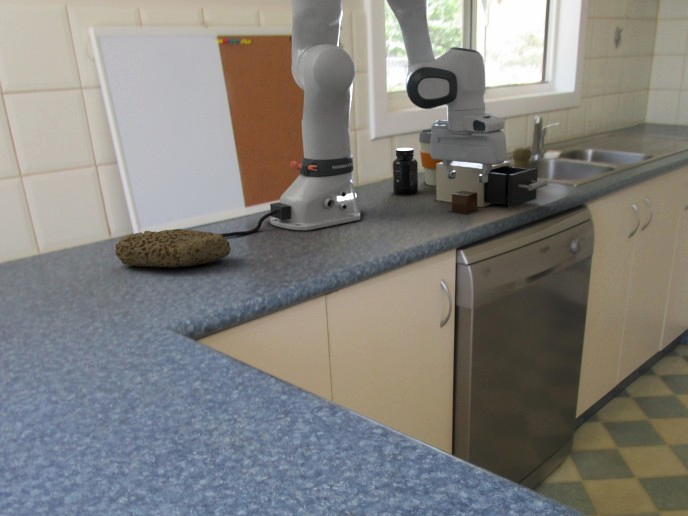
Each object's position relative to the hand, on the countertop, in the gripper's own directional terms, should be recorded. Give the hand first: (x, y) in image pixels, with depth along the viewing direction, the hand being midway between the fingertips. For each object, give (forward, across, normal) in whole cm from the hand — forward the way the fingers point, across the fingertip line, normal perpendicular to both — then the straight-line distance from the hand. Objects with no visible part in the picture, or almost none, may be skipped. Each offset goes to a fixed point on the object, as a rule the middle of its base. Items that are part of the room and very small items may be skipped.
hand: (467, 180), depth 159 cm
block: (+8, 0, -1) cm, 8 cm away
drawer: (+7, +4, +12) cm, 14 cm away
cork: (+8, -4, +31) cm, 33 cm away
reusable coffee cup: (+8, -28, +24) cm, 38 cm away
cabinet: (+8, -6, +12) cm, 15 cm away
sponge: (+6, -20, -68) cm, 71 cm away
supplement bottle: (+8, -26, +8) cm, 29 cm away
